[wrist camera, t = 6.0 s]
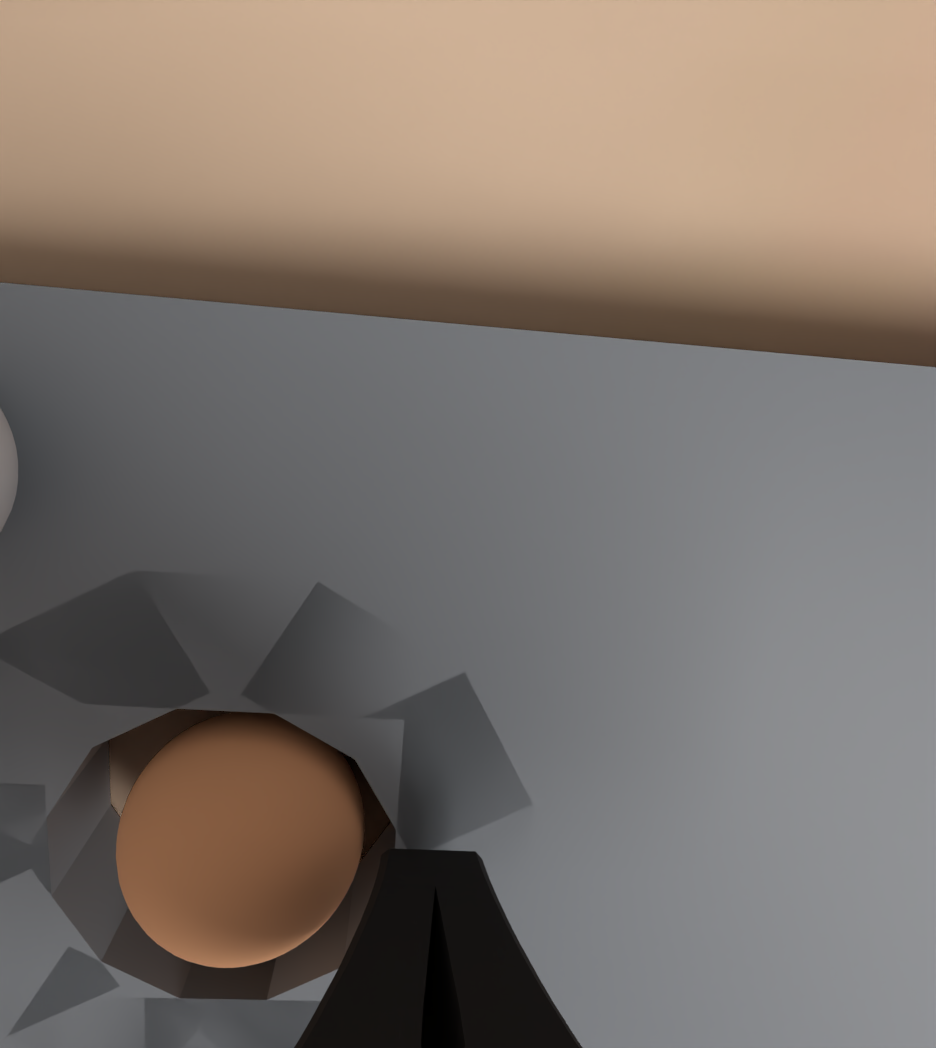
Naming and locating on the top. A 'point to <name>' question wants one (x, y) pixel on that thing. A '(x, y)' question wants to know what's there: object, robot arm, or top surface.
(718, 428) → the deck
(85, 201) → the top surface
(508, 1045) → the robot arm
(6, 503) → the grey ball
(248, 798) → the ball
